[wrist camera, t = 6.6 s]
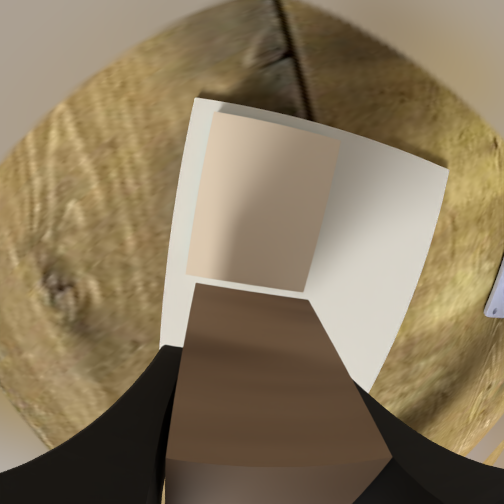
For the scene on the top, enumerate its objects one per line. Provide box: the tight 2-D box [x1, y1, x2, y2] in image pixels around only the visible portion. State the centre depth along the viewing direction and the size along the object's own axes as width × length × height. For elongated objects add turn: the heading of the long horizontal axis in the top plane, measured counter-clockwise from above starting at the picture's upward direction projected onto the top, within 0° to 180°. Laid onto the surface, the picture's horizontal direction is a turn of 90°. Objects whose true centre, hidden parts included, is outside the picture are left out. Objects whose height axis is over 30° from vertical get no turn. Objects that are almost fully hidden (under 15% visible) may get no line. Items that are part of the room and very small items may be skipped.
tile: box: [185, 112, 341, 293], centre depth 13 cm, size 5×2×6 cm
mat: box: [159, 98, 449, 393], centre depth 15 cm, size 13×15×1 cm
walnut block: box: [165, 283, 392, 504], centre depth 8 cm, size 4×4×7 cm
